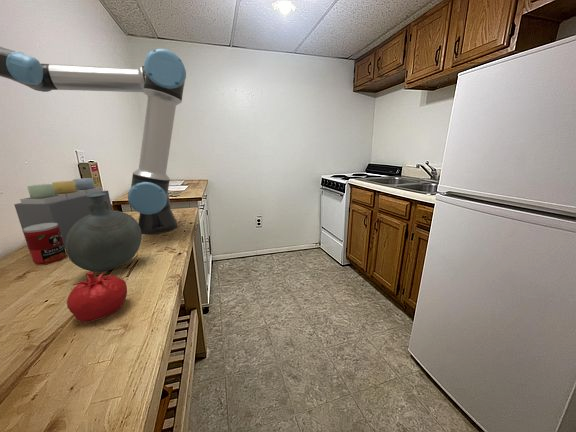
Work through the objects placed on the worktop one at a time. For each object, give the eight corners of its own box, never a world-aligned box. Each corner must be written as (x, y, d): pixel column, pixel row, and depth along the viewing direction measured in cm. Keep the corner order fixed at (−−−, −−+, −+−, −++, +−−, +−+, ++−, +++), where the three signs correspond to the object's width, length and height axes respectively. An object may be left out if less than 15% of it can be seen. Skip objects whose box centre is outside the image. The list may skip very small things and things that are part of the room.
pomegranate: (131, 315, 52) (123, 275, 49) (68, 335, 46) (56, 291, 43) (128, 292, 59) (121, 256, 57) (74, 306, 54) (64, 268, 51)
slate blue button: (86, 190, 98) (83, 180, 97) (70, 190, 98) (68, 180, 97) (98, 187, 104) (96, 178, 103) (84, 187, 105) (81, 178, 103)
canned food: (47, 266, 73) (36, 231, 70) (26, 264, 75) (15, 229, 72) (73, 255, 80) (64, 223, 77) (54, 253, 82) (44, 221, 79)
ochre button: (66, 194, 90) (63, 183, 89) (49, 194, 90) (46, 183, 89) (81, 191, 96) (79, 180, 95) (65, 191, 96) (63, 180, 95)
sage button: (43, 198, 82) (40, 186, 81) (25, 199, 82) (21, 187, 81) (61, 195, 88) (58, 184, 87) (44, 195, 88) (41, 184, 87)
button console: (61, 249, 85) (47, 199, 80) (28, 249, 86) (12, 199, 81) (115, 226, 110) (107, 186, 105) (89, 226, 111) (80, 187, 106)
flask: (77, 269, 71) (57, 193, 65) (144, 254, 80) (132, 187, 74) (72, 287, 62) (48, 201, 56) (149, 268, 71) (135, 192, 65)
